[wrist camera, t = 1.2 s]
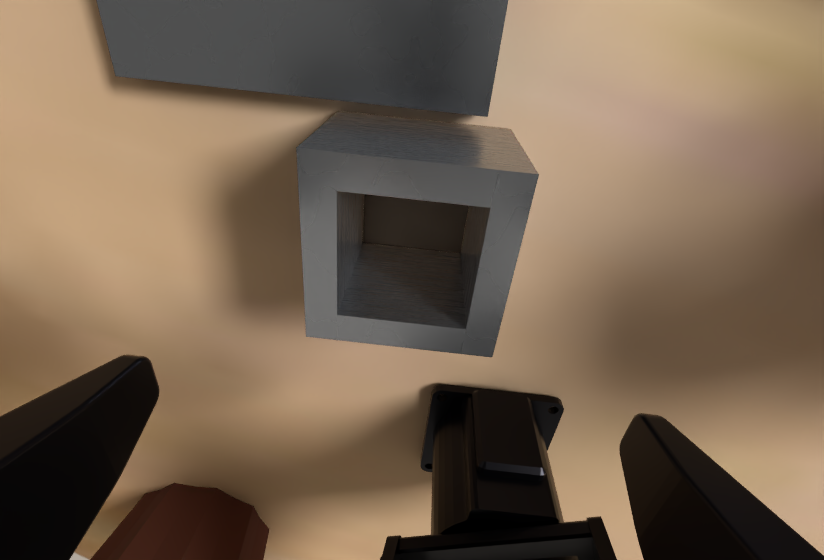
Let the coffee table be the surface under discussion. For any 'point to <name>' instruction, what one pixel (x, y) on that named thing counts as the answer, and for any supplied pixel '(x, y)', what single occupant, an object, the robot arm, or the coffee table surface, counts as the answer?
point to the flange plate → (316, 48)
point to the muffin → (187, 528)
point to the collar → (402, 266)
